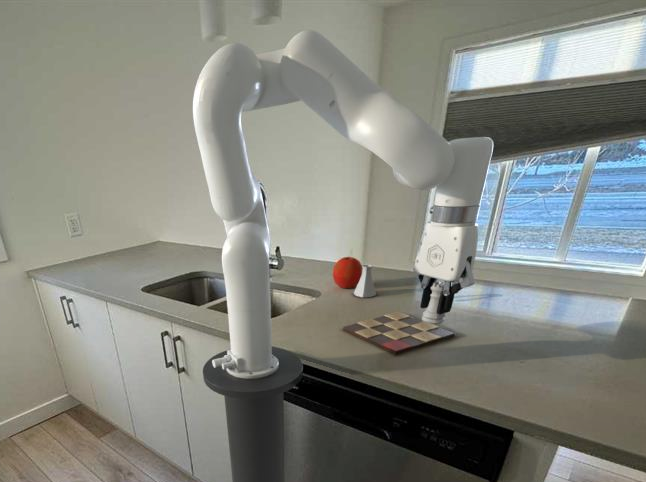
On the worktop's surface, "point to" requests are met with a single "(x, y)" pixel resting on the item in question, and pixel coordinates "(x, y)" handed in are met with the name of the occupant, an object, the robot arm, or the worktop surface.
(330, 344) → the worktop surface
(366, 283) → the flask
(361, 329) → the board
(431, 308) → the rook chess piece
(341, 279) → the apple
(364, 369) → the worktop surface
